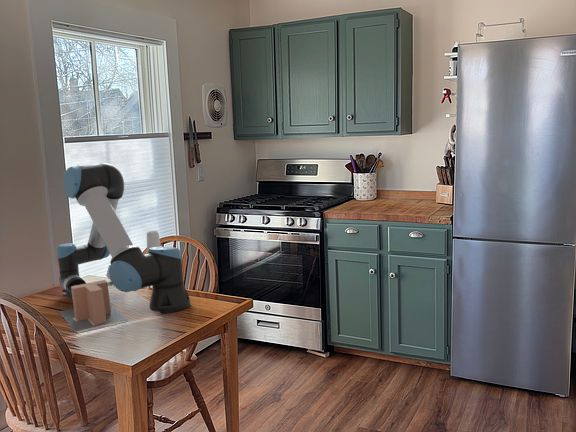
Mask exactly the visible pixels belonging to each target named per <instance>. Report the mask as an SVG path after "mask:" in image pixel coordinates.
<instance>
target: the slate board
mask: <svg viewBox="0 0 576 432" xmlns="http://www.w3.org/2000/svg"><path fill="white" fill-rule="evenodd" d="M110 308H111V314H107V315H106V321H107V322H106V323H102V324H97V325H95V324H94V323H93V322H92V321H91V320H90V319H85V320H81V321H77V320H76V319H75V314H74V308H70V309H65V310H61V311H58V313H59V314H60V315H61V316H62V317H63V318H64V320H65V321H66V323H67V324H68V325H69V326H70V328H72V331H74V332H78V333H76V335H77V334H79V331H82V330H83V331H82V332H80V334H82V333H87V332H90V331H92V328H94V329H93V331H95V330H96V329H95V327H99V328H97V330H98V329H103V328H108V327H109V324H112V325H110V327H112V326H113V323H116V324H114V326H116V325H120V324H124V323H126V321H125V320H128V318H127V317H125V316H124V315H123V314H122V313H121V312H119V310H117V309H116V308H115V307H114V306H113V305H112V304H110ZM122 321H124V322H122ZM117 322H120V323H117ZM104 325H107V326H104ZM100 326H103V327H100ZM88 329H90V330H88ZM84 330H86V331H84Z"/></svg>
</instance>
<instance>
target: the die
mask: <svg viewBox="0 0 576 432" xmlns="http://www.w3.org/2000/svg"><path fill="white" fill-rule="evenodd" d="M110 265H111V264H110ZM110 265H108V267H107V271H106V274H105V276H106V278H108V279H109V280H110V281H111V279H110V274H109V268H110Z"/></svg>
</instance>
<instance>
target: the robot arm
mask: <svg viewBox="0 0 576 432" xmlns="http://www.w3.org/2000/svg"><path fill="white" fill-rule="evenodd" d="M62 181H63V182H62V183H63V189H64V192H65V195H66V197H67V198H69V199H75V200H76V201H77V203H78V205H80V206H82V207H85V209H86V212H87V213H88V215H89V217H90V219H91V220H92V225H91V229H90V233H89V237H88V241H87V244H82V245H79V246H76V244H75V243H74V242H67V243H61V244H59V245H58V246H57V247H56V258H57V263H58V264H57V265H58V269H59V272H58V273H59V277H58V282H59V285H60V286H61V288H62V296H63V297H66V298H69V299H72V291H71V286H76V285H81V284H86V283H87V282H86V281H85V280H84V279H83V278H81V277H80V270H79V265H83V264H87V263H90V262H91V263H92V262H95V261H101V260H103V259H106V258H108V257H109V256H110V257H111V259H110V261H109V263H110V268H109V274H110V279H111V280H110V279H109V280H110V281H111V283H112V284H113V286H114V287H115V288H116V289H118V291H120V292H124V293H129V292H130V293H131V292H136V291H139V290H142V289H144V288H148V287H151V286H152V288H151V289H152V291H151V296H150V300H149V304H148V305H149V309H150V310H152V311H155V312H160V313H161V314H167V313H168V314H170V313H176V312H179V311H183V310H185V309H187V308H189V307H190V306H191V299H190V296H189V294H188V293H189V292H188V291H187V290H186V287H185V283H184V282H185V281H184V272H183V263H182V262H183V261H182V258H183V257H182V255H181V250H180V248H177V247H174V246H161V247H152V248H149V250H148V254H147V253H145V254H144V253H143V251H142V249H141V248H140V247H138V246H135V245H134V243H133V242H132V241H131V238H130V236H129V235H128V233H127V231H126V229H125V227H124V226H123V224H122V222H121V221H120V220H121V219H120V218H119V217H118V214H117V213H116V211H117V207H118V204H119V201H120V200H121V199H122V197H123V195H124V192H125V179H124V176H123V174H122V172H121V171H120V170H119V168H118V167H117V166H115V165H113V164H111V163H108V162H100V163H93V164H85V165H78V164H77V165H74V166H70V167H68V168H67V169H66V170H65V171H64V175H63V180H62Z"/></svg>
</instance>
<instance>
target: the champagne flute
mask: <svg viewBox="0 0 576 432" xmlns="http://www.w3.org/2000/svg"><path fill="white" fill-rule="evenodd" d="M161 244H162V243H161V240H160V234H159V231H158V230H149V231H147V232H146V254H148V250H149V248H152V247H162V245H161ZM150 288H151V289H153V288H152V285H151V286H150Z"/></svg>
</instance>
